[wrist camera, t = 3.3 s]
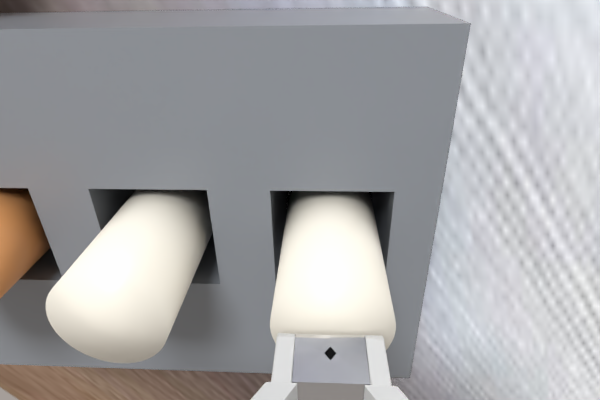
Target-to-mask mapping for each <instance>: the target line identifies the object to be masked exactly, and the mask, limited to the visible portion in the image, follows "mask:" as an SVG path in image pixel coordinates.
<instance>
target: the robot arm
mask: <svg viewBox="0 0 600 400" xmlns="http://www.w3.org/2000/svg"><path fill="white" fill-rule="evenodd" d="M250 400H409V399H408V398H407V397H406V396H405V394H404V393H403V392H402V391H401V390H400V389H399V388H398V387H397V386H392V384H391V378H390V372H389V366H388V360H387V354H386V348H385V342H384V338H383V336H373V335H365V336H364V335H318V334H298V333H296V334H293V333H278V335H277V338H276V346H275V354H274V362H273V370H272V378H271V382H265V383H264V385H263V386H262V387H261V388H260V389H259V390H258V391H257V393H256V394H255V395H254V396H253V397H252V398H251V399H250Z"/></svg>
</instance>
